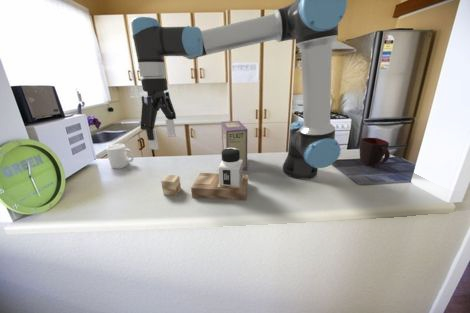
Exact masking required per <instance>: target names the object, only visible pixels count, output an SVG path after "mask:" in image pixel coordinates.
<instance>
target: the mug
mask: <svg viewBox="0 0 470 313" xmlns="http://www.w3.org/2000/svg"><path fill="white" fill-rule="evenodd" d="M389 145H390V143H389V142H388V141H387V140H384V139H381V138H378V137H362V138H361V139H360V141H359V160H360V164H362V165H363V166H365V167H371V168H372V167H373V168H374V167H377V166H378V165H381V164H384V163H386V162H387V161H388V160H389V159H390V158H391V157H390V156H391V153H390V150H389V149H388V148H389Z"/></svg>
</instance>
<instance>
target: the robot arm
mask: <svg viewBox="0 0 470 313" xmlns="http://www.w3.org/2000/svg"><path fill="white" fill-rule="evenodd" d="M347 7H348V0H295V1H294V2H292V3H290V4H288V5H286V6H284V7H281V8H277V9H275V11H274V12H273V13H272V14H269V15H264V16H260V17H256V18H250V19H247V20H243V21H238V22H234V23H230V24H226V25H221V26H216V27H212V28H208V29H203V30H201V29H200V28H199V26H191V25H187V26H161V25H160V22H159V20H158V19H156V18H155V17H149V16H147V17H146V16H136V17H134V18H132V19H131V32H132V39H133V44H134V49H135V53H136V54H135V55H136V59H137V63H138V64H137V65H138V70H139V75H140V77H142V78H141V79H140V82H141V87H142V91H143V92H146V93H147V95H141V113H140V114H141V118H140V130H142V131H146V135H147V141H148V146H149V150H155V151H157V150H159V149H160V146H159V141H158V136H157V129H156V128H155V125H156V119H157V115H158V111H160V110H161V112H162V114H164V116H165V118H166V119H165V125H166V131H167V132H166V133H167V137H169V138H170V137H171V138H175V137H177V136H176V129H175V121H174V120H176V119H177V116H176V111H175V108H174V106H173V102H172V101H171V100H172V99H171V97H170V91H168V90H169V88H168V81H167V78H165V77H166V76H167V72H166V65H165V60H164V59H165V58H164V57H183V58H186V59H188V60H196V59H198V58H200V57H204V56H209V55H213V54H216V53H217V54H218V53H221V52H227V51H231V50H235V49H239V48H243V47H247V46H252V45H256V44H257V45H258V44H261V43H262V44H263V43H265V42H270V41H274V40H275V41H276V42H278V43H280V42H284V41H285V42H286V41H293V40H295V46H296V47H297V48H298V49H299V50H300V54H301V84H302V86H301V87H302V113H303V115H302V116H303V119H302V120H303V121H294V122H292V123H291V124H290V129H289V141H288V152H287V156H286V158H285V160H284V162H283V165H282V172H283V173H284V174H285V175H287V176H288V177H290V178H294V179H298V180H299V179H300V180H310V179H314V178H315V177H317V175H318V171H319V170H318V169H322V168H323V169H325V168H327V167H330V166H331V165H333V163H334V162H336V161H337V160H338V159H339V157H340V155H341V152H342V150H341V145H340V143H339V142H338V141H337V140H336V127H335V126H334V125H333V124H332V123H331V109H332V108H331V106H332V105H331V103H332V102H331V101H332V99H331V97H332V94H331V93H332V56H333V55H332V54H333V53H332V52H333V50H332V49H333V47H332V46H333V43H334V42H335V41H336V40H337V39H338V37H339V24H340V22H341V21H342V19H343V18H344V16H345V15H346V10H347Z"/></svg>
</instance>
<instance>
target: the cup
mask: <svg viewBox="0 0 470 313" xmlns="http://www.w3.org/2000/svg"><path fill="white" fill-rule="evenodd" d="M105 151H106V155H107V157H108V161H109V164H110V167H111V168H112V169H122V168H125V167H127V166H128V165H129V164H130V163H132V162H133V161H134V154H133V151H132V150H131V149H129V148H127V147H126V145H125V144H124V143H115V144H110V145H108V146H106V147H105ZM128 152H129V154H130V159H129V157H128Z"/></svg>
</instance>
